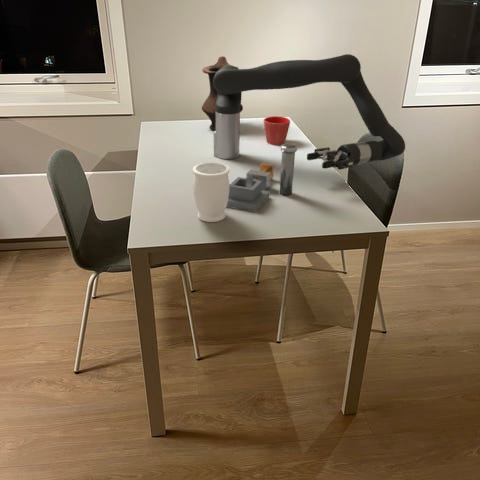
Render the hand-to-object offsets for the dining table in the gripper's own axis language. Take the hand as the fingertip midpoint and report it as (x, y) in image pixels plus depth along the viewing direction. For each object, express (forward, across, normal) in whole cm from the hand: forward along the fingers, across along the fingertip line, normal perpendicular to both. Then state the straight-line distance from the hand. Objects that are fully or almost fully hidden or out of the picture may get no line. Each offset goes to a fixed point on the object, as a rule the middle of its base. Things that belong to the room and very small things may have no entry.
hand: (315, 161), depth 157 cm
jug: (-3, -76, +10) cm, 76 cm away
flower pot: (-15, -47, +10) cm, 51 cm away
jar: (+40, +5, +10) cm, 41 cm away
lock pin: (+14, -10, +9) cm, 20 cm away
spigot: (+11, 0, +10) cm, 14 cm away
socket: (+26, -1, +10) cm, 27 cm away
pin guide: (+16, -8, +10) cm, 21 cm away
